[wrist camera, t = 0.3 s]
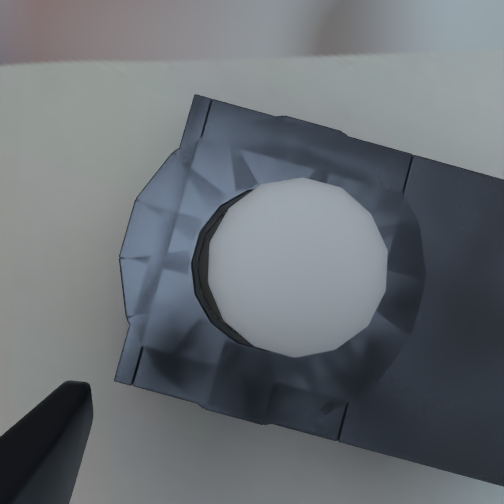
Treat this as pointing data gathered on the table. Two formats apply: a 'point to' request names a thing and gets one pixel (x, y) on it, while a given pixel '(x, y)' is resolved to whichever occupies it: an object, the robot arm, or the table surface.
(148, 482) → the table surface
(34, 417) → the robot arm
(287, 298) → the white rounded peg
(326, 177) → the plate
